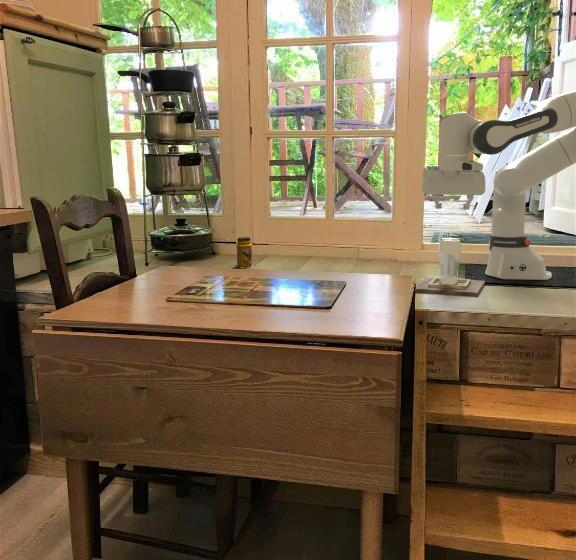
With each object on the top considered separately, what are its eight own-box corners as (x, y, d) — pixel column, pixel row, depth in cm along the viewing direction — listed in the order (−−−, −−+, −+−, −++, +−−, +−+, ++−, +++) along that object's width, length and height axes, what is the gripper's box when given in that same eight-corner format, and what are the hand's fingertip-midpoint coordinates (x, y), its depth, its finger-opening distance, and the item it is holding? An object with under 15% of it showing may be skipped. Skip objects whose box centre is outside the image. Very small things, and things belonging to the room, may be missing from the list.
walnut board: (484, 284, 209) (485, 277, 209) (477, 296, 191) (477, 289, 191) (425, 280, 217) (425, 274, 217) (412, 292, 199) (412, 285, 199)
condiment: (252, 268, 248) (251, 238, 246) (230, 268, 249) (229, 238, 247) (254, 265, 256) (253, 236, 253) (233, 265, 256) (232, 236, 254)
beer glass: (445, 287, 199) (446, 241, 196) (433, 283, 205) (434, 238, 203) (464, 286, 201) (465, 240, 198) (451, 282, 208) (453, 237, 205)
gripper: (418, 165, 201) (418, 208, 203) (480, 165, 188) (478, 210, 191) (427, 165, 205) (426, 207, 208) (488, 164, 193) (486, 209, 195)
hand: (452, 209), depth 199 cm, fingers open, 8 cm apart
